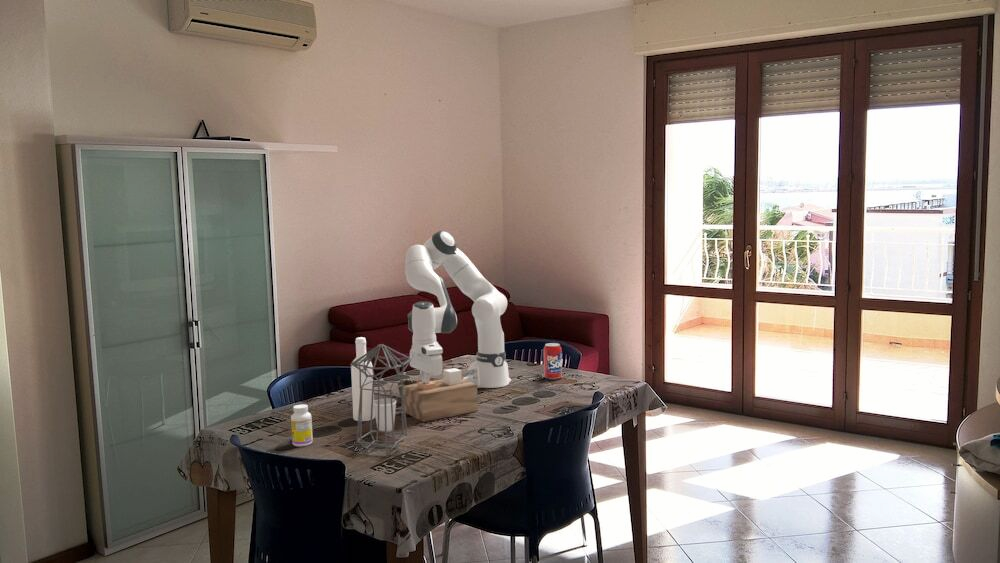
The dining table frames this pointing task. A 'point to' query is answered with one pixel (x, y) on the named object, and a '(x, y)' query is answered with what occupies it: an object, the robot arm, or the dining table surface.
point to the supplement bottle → (301, 426)
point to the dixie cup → (382, 413)
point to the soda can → (552, 361)
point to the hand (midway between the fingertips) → (425, 382)
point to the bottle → (356, 384)
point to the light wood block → (440, 400)
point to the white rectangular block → (452, 376)
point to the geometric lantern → (356, 364)
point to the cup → (406, 384)
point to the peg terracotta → (426, 385)
